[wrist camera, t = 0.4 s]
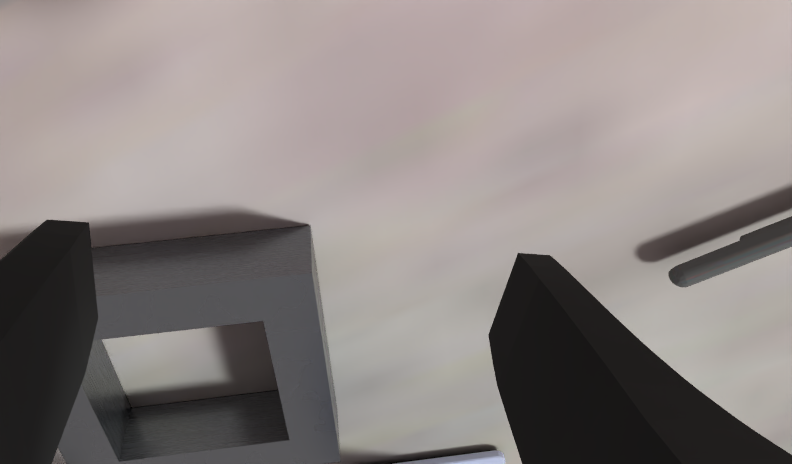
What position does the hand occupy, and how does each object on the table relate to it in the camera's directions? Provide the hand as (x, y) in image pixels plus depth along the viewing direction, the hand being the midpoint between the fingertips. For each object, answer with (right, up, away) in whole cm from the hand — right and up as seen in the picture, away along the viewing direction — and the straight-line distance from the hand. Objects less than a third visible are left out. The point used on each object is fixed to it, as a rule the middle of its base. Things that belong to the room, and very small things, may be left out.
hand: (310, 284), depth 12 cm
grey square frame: (-6, -3, +14) cm, 16 cm away
